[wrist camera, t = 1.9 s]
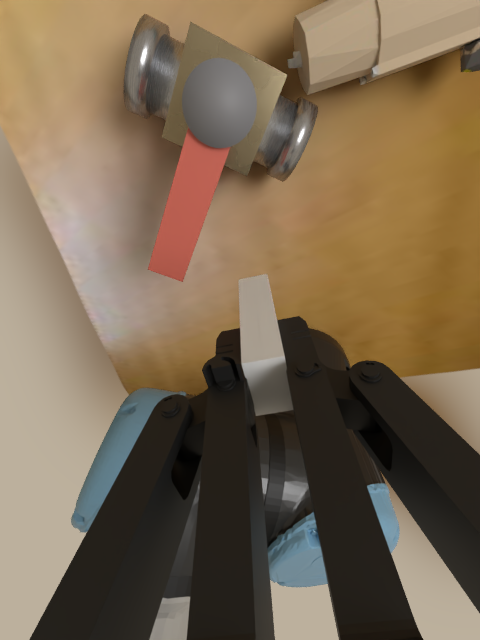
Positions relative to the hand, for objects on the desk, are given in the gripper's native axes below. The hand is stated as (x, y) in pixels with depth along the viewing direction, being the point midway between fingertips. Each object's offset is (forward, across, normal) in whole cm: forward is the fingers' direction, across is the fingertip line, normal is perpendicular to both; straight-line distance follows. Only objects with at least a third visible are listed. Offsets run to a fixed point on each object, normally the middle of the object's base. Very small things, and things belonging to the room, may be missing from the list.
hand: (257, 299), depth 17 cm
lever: (+12, +3, -5) cm, 13 cm away
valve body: (+19, 0, -9) cm, 21 cm away
